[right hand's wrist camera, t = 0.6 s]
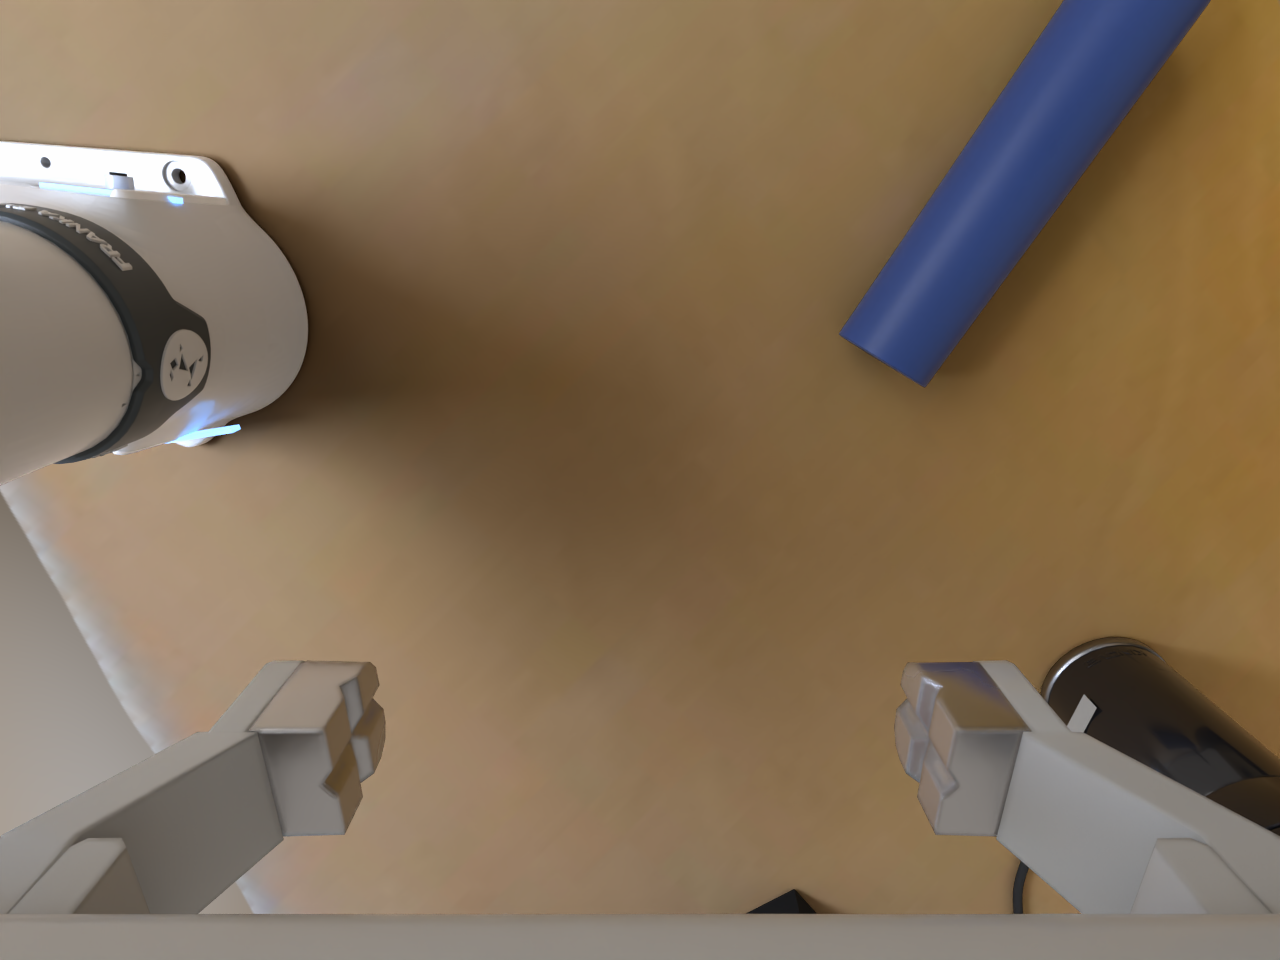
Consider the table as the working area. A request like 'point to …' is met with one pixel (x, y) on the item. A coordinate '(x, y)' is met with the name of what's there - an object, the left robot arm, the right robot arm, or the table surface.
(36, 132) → the table surface
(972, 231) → the rod
